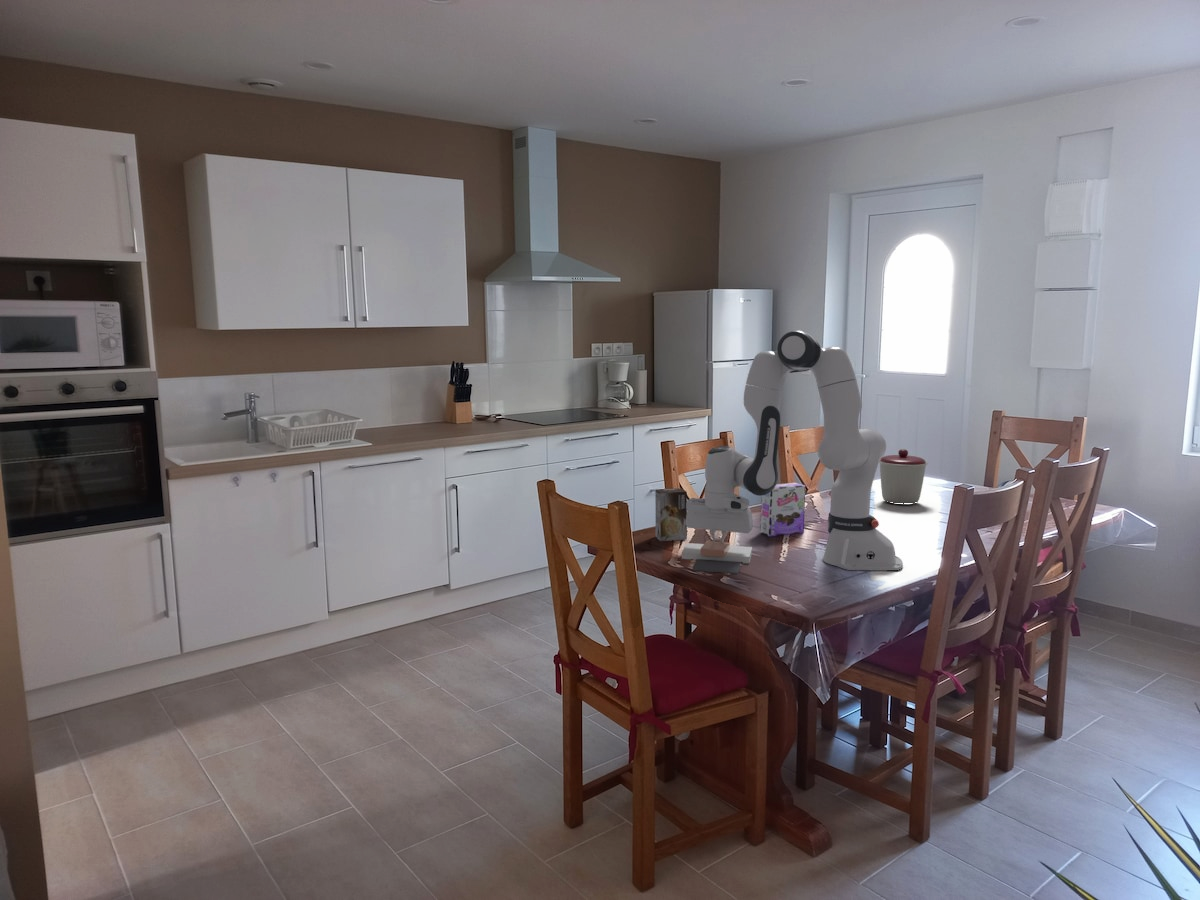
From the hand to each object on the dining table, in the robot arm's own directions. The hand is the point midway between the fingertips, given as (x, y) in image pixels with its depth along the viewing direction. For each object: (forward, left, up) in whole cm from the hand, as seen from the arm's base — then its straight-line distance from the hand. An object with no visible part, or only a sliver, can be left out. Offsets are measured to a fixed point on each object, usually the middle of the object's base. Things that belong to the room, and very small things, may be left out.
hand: (718, 544), depth 261 cm
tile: (0, +6, -1) cm, 6 cm away
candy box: (-18, -31, -3) cm, 36 cm away
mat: (-1, +14, -3) cm, 15 cm away
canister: (-61, -90, -3) cm, 109 cm away
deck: (0, +3, -3) cm, 4 cm away
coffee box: (+17, -15, -3) cm, 23 cm away
